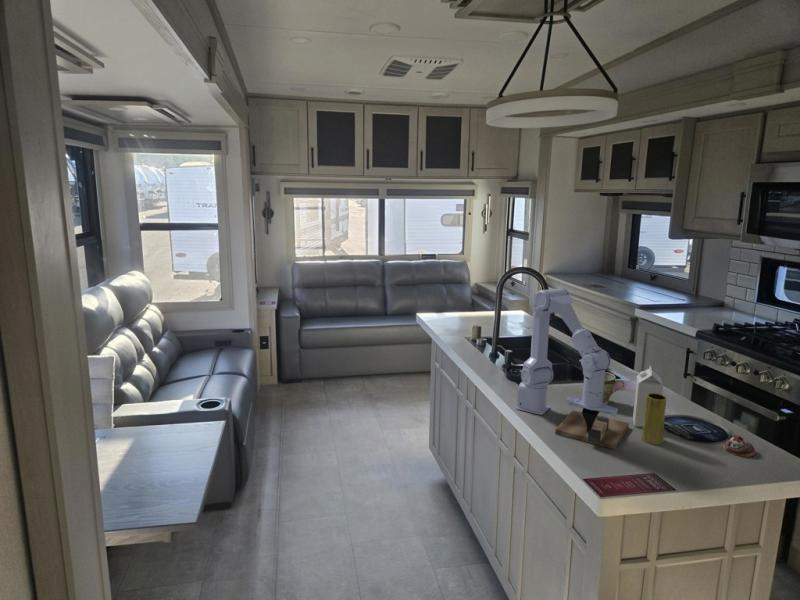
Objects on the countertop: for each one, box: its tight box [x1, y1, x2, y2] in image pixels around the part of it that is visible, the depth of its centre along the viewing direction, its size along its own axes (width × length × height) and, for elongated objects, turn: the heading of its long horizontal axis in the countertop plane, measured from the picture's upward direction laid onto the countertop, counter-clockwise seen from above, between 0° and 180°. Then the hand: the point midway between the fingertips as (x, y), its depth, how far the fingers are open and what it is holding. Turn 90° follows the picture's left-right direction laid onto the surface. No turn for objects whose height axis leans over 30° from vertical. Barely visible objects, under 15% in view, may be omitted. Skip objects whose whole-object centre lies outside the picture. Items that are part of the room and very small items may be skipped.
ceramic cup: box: [602, 371, 625, 405], centre depth 194 cm, size 13×10×10 cm
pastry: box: [723, 434, 756, 458], centre depth 160 cm, size 8×8×5 cm
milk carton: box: [632, 365, 664, 428], centre depth 176 cm, size 7×7×19 cm
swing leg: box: [588, 415, 610, 443], centre depth 167 cm, size 13×4×3 cm, turn 147°
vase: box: [641, 393, 667, 445], centre depth 166 cm, size 6×6×14 cm
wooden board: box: [554, 409, 630, 450], centre depth 173 cm, size 18×18×2 cm
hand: (589, 431), depth 167 cm, fingers closed
